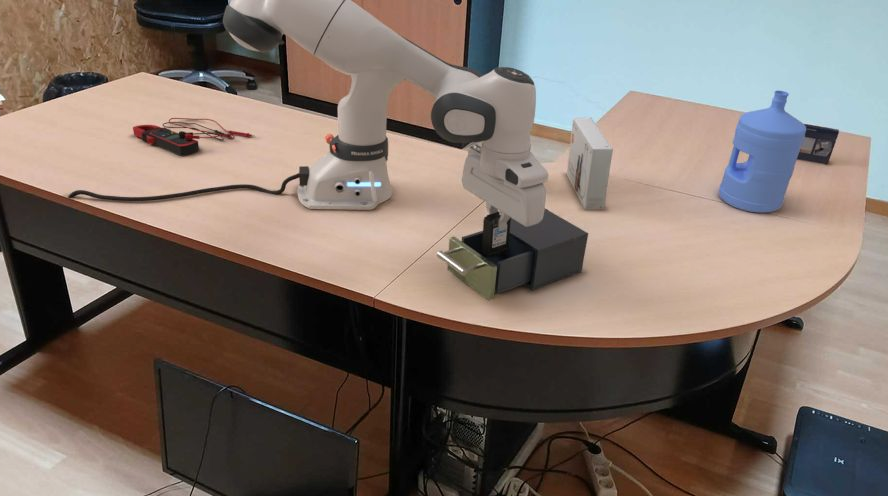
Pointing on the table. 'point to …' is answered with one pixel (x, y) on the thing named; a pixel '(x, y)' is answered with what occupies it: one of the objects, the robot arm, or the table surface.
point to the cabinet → (552, 248)
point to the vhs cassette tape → (818, 144)
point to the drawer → (488, 264)
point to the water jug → (763, 158)
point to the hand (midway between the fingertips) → (497, 227)
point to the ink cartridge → (494, 236)
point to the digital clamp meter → (178, 137)
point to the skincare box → (589, 163)
